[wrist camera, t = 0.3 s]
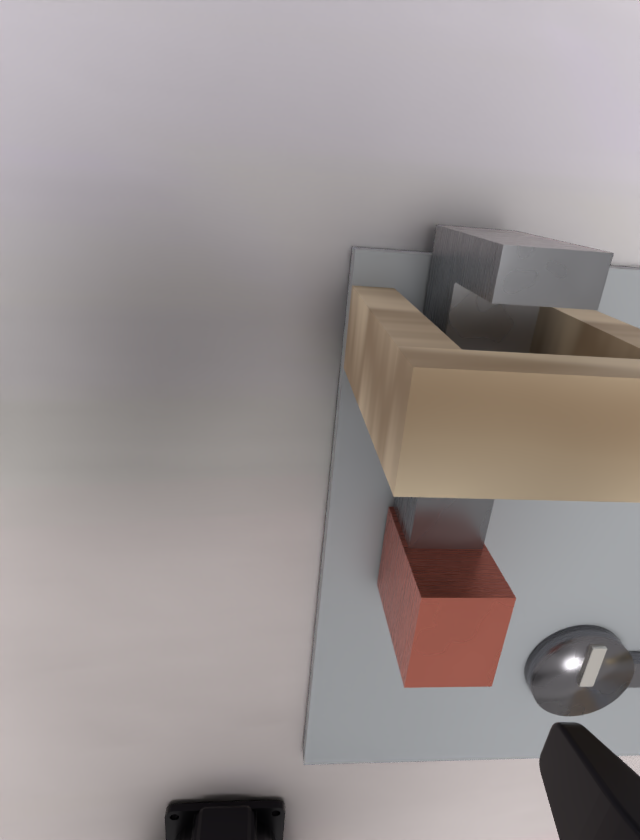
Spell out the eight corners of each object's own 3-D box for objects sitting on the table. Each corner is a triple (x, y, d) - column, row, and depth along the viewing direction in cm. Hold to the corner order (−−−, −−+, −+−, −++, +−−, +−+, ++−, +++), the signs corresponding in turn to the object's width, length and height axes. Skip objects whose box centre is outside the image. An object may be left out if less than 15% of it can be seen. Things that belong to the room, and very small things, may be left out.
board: (713, 739, 32) (723, 752, 32) (302, 750, 30) (303, 764, 29) (947, 290, 22) (970, 294, 21) (352, 246, 20) (355, 249, 19)
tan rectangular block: (549, 378, 21) (724, 504, 13) (343, 367, 21) (393, 496, 12) (569, 299, 20) (776, 385, 12) (352, 285, 19) (413, 367, 11)
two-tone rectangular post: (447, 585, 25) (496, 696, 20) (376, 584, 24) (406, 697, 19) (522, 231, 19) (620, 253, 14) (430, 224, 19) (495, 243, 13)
